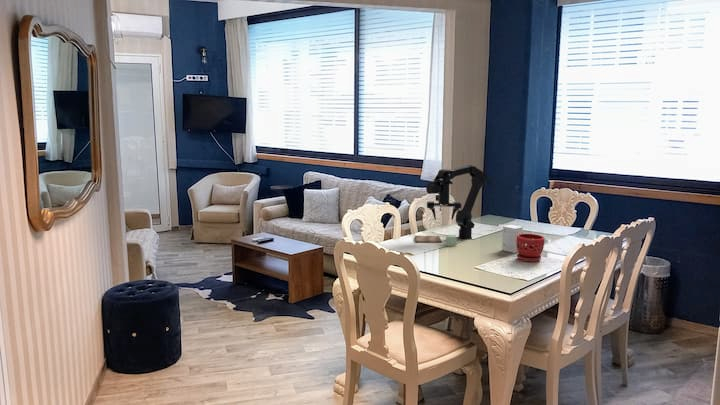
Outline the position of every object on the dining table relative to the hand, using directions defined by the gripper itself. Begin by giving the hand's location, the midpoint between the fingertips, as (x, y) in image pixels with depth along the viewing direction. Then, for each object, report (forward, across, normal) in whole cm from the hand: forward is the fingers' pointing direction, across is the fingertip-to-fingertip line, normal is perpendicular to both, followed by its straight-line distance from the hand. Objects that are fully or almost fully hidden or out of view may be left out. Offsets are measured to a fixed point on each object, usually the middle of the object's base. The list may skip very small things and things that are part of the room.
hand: (443, 220), depth 310 cm
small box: (+12, -35, +18) cm, 41 cm away
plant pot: (+12, -40, +34) cm, 54 cm away
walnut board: (+12, +8, -2) cm, 15 cm away
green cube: (+12, -4, +8) cm, 15 cm away
